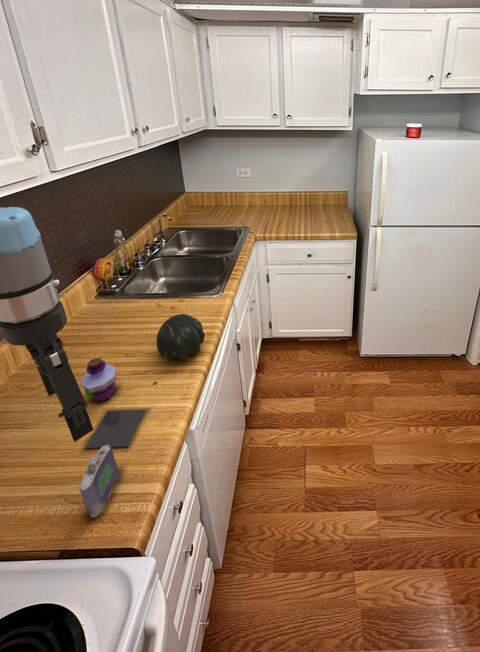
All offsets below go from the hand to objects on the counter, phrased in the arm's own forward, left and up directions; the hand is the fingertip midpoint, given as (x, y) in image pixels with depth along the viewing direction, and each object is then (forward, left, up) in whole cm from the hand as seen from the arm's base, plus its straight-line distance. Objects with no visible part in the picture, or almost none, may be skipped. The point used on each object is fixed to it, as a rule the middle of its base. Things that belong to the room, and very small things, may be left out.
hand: (69, 411), depth 58 cm
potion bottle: (-16, +29, -28) cm, 43 cm away
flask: (-2, +3, -28) cm, 28 cm away
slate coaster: (-7, +18, -28) cm, 34 cm away
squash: (+1, +45, -28) cm, 53 cm away
